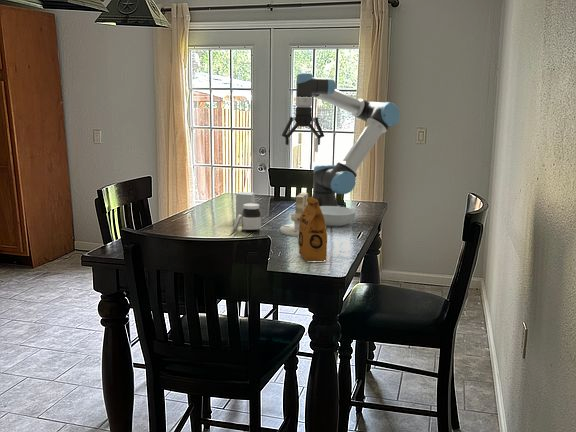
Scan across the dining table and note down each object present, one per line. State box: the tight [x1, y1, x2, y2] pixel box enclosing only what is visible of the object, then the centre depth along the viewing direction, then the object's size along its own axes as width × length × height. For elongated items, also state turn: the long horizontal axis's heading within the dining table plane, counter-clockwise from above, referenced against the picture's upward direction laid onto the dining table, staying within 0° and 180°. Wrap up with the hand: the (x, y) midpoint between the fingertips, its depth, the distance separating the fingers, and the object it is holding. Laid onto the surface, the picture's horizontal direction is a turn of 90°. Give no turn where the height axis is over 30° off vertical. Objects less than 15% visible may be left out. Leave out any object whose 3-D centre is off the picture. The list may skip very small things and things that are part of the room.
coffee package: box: [297, 196, 328, 262], centre depth 206 cm, size 10×12×22 cm
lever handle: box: [290, 192, 309, 222], centre depth 247 cm, size 12×9×11 cm
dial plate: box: [279, 221, 300, 237], centre depth 249 cm, size 18×18×5 cm
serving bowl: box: [320, 205, 356, 228], centre depth 264 cm, size 21×21×7 cm
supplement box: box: [235, 191, 256, 222], centre depth 270 cm, size 7×7×13 cm
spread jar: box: [232, 202, 262, 234], centre depth 248 cm, size 12×11×12 cm
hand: (302, 151), depth 274 cm, fingers open, 13 cm apart
